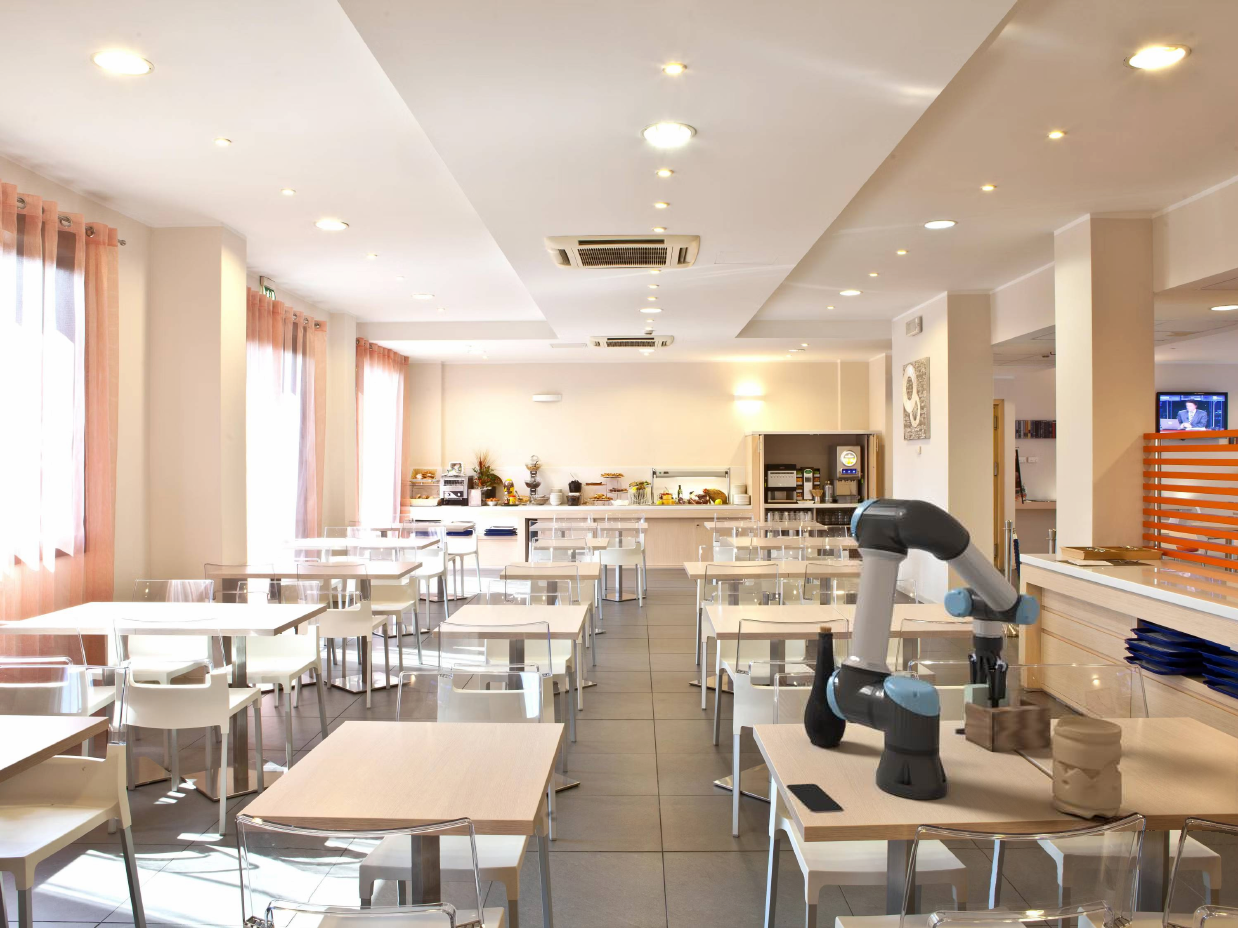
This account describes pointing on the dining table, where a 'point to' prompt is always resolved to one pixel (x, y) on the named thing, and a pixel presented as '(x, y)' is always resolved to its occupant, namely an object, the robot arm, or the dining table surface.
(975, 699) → the door
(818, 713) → the bottle
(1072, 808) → the container
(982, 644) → the robot arm
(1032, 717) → the cabinet
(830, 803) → the smartphone
